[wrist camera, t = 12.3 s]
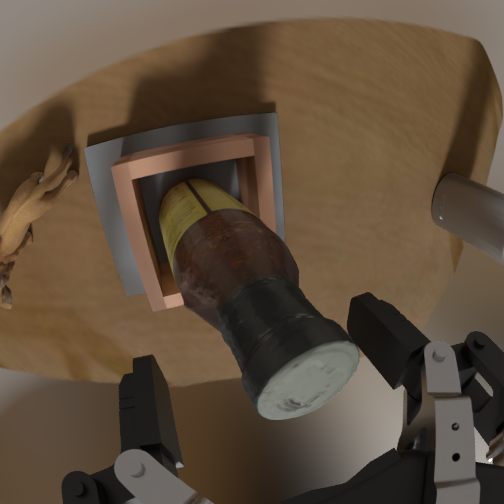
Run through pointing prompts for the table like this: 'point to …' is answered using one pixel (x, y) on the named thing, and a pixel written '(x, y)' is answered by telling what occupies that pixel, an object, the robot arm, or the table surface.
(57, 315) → the table surface
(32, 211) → the lion figurine
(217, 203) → the sauce bottle
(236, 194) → the bottle holder
